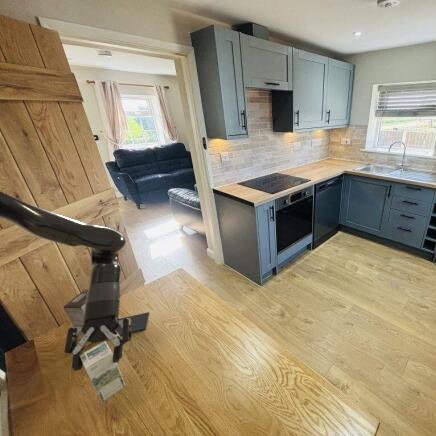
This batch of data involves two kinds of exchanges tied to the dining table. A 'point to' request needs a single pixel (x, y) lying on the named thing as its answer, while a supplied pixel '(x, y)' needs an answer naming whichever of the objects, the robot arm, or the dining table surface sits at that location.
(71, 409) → the dining table surface
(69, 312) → the coffee box
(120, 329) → the dark gray mat
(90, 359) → the syrup box
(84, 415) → the dining table surface
